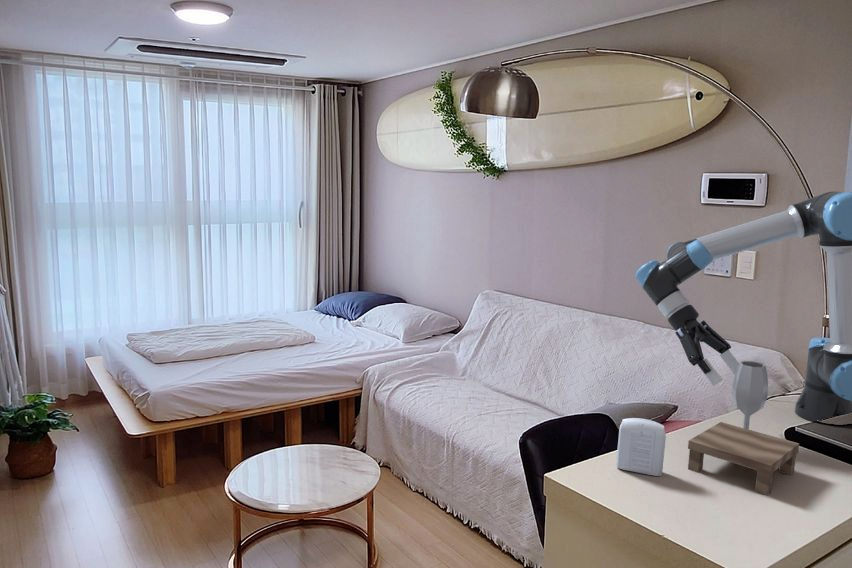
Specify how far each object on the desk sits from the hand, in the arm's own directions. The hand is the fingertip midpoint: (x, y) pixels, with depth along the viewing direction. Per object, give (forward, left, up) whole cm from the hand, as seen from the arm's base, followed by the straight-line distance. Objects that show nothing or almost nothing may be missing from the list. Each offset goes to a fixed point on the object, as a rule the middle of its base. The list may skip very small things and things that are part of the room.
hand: (729, 377), depth 173 cm
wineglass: (-1, +5, -16) cm, 17 cm away
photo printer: (+35, -5, -16) cm, 39 cm away
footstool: (+17, +11, -16) cm, 26 cm away
